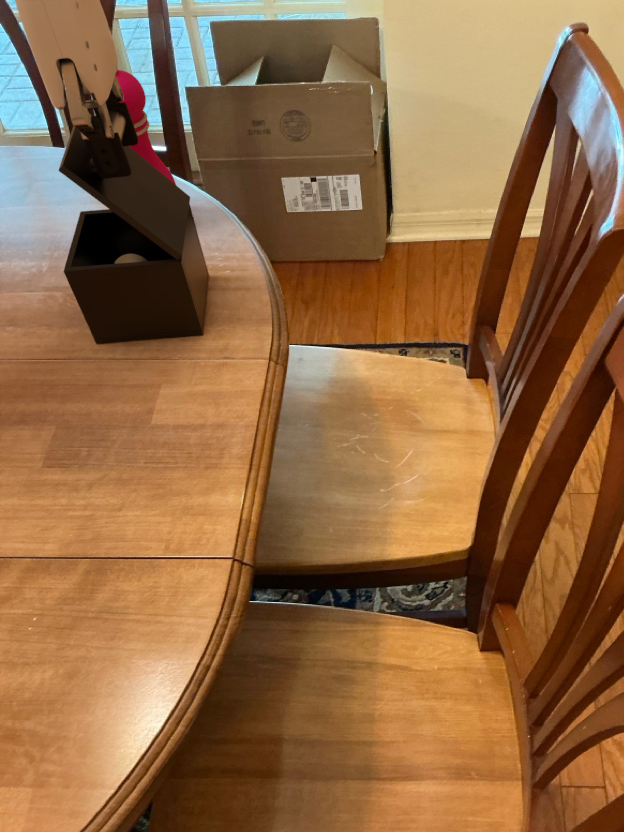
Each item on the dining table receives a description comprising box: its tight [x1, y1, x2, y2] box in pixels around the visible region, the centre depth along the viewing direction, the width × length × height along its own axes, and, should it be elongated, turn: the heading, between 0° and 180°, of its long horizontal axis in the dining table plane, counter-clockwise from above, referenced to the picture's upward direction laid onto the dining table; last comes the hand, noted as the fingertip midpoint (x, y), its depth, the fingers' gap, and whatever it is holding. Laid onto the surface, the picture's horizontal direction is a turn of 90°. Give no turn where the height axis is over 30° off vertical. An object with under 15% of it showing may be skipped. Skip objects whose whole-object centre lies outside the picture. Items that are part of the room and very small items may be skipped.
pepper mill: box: [115, 66, 177, 186], centre depth 95 cm, size 7×7×20 cm
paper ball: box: [114, 254, 147, 264], centre depth 91 cm, size 5×5×5 cm
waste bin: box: [63, 203, 210, 345], centre depth 88 cm, size 12×11×10 cm
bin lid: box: [58, 110, 191, 260], centre depth 79 cm, size 13×11×5 cm
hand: (119, 158), depth 78 cm, fingers closed on bin lid, 5 cm apart
